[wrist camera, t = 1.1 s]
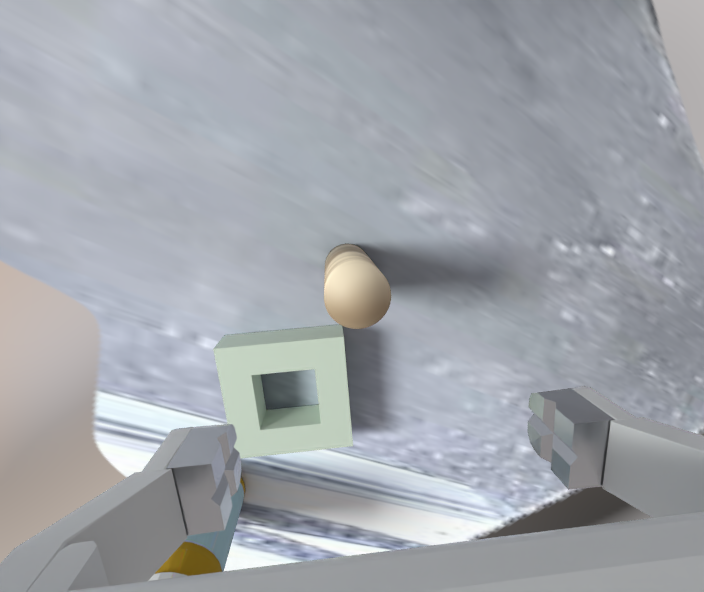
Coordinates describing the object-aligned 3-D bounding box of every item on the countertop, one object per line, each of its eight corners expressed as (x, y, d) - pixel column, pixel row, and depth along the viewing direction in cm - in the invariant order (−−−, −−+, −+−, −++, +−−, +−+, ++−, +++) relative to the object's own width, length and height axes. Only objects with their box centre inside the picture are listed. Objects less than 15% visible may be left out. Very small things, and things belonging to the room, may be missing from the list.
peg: (322, 245, 34) (320, 266, 22) (367, 242, 34) (389, 261, 22) (327, 289, 35) (327, 331, 23) (370, 285, 35) (392, 325, 23)
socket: (224, 335, 35) (213, 348, 32) (342, 324, 36) (343, 336, 32) (242, 436, 38) (234, 459, 35) (350, 425, 39) (352, 445, 35)
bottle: (170, 485, 39) (79, 649, 25) (214, 448, 38) (146, 595, 24) (216, 520, 41) (156, 693, 26) (259, 485, 40) (221, 644, 26)
